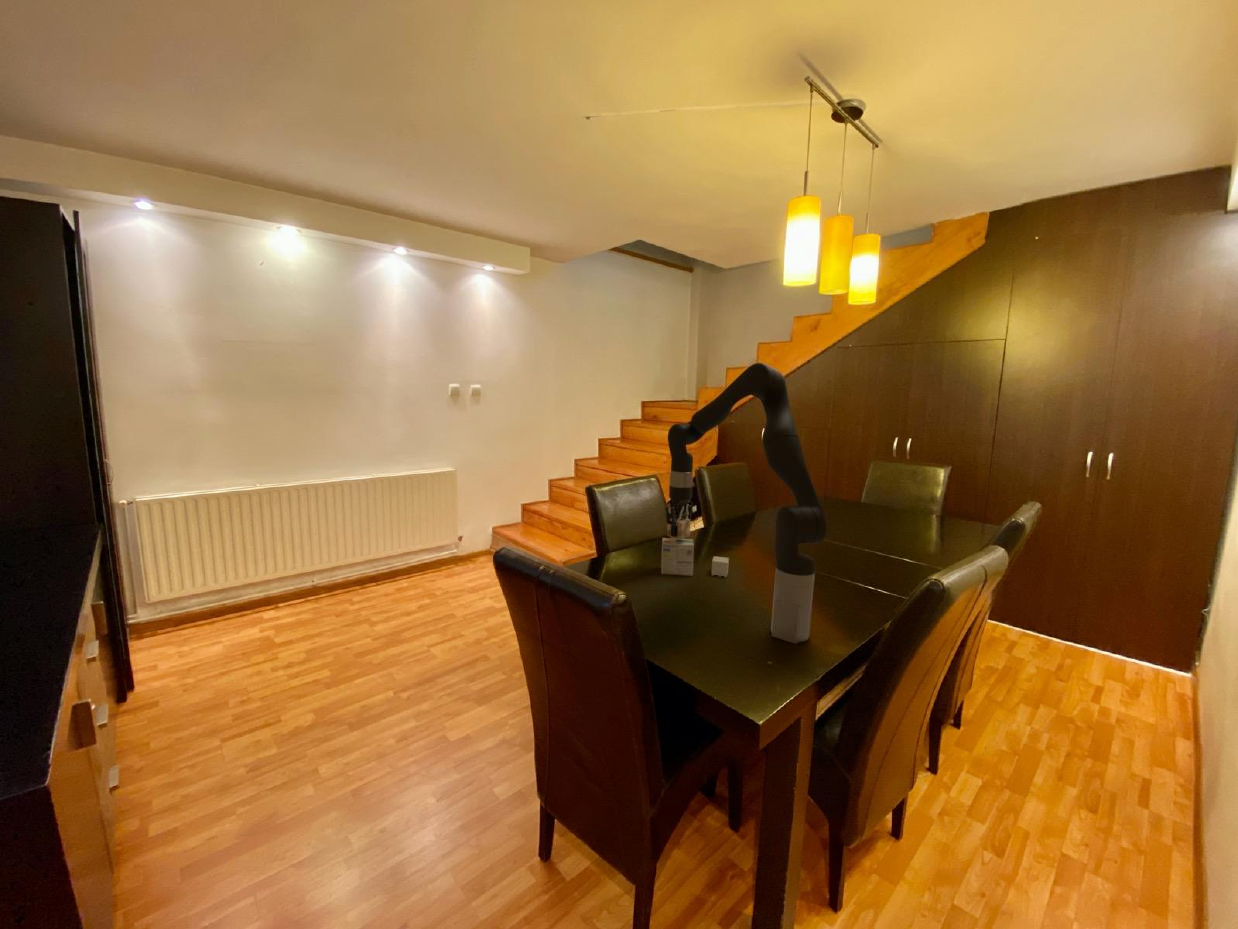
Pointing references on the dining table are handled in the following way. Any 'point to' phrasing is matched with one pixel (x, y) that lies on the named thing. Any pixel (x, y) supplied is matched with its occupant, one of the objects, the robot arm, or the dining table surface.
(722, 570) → the grey block
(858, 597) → the dining table surface
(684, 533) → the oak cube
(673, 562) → the light bulb box
